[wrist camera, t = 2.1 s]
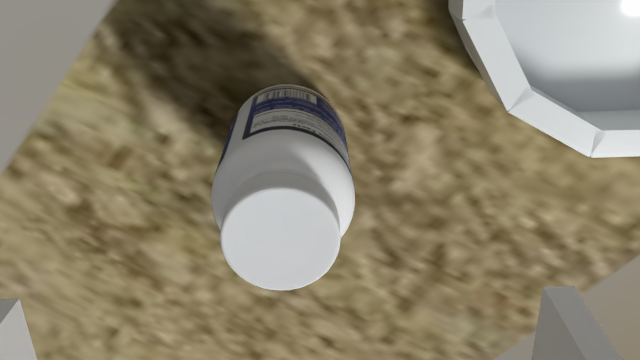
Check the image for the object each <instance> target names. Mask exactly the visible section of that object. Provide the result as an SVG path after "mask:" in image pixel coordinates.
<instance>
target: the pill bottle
mask: <svg viewBox="0 0 640 360" xmlns="http://www.w3.org/2000/svg"><path fill="white" fill-rule="evenodd" d="M211 203H212V210H213V214H214V218H215V220H216V223H217V225H218V227H219V229H220V243H221V248H222V251H223V254H224V257H225V259H226V261H227V262H228V264H229V265H230V267H231V268H232V269H233V270H234V271H235V272H236V273H237V274H238V275H239V276H240V277H241V278H243V279H244V280H246V281H248V282H249V283H251V284H253V285H256V286H259V287H261V288H265V289H270V290H291V289H297V288H301V287H304V286H306V285H308V284H311V283H312V282H314V281H316V280H317V279H319V278H320V277H321V276H323V275H324V274H325V273H326V272H327V271H328V270H329V268H330V267H331V266H332V264H333V263H334V261H335V259H336V257H337V254H338V251H339V247H340V239H341V237H342V236H343V234H344V233H345V231H346V230H347V228H348V226H349V224H350V222H351V219H352V216H353V212H354V206H355V191H354V184H353V177H352V172H351V166H350V161H349V155H348V149H347V143H346V138H345V132H344V128H343V124H342V121H341V119H340V117H339V115H338V113H337V111H336V110H335V108H334V107H333V106H332V105H331V103H330V102H329V101H328V100H327V99H326V98H324V97H323V96H322V95H320V94H319V93H317V92H315V91H314V90H311V89H309V88H306V87H303V86H299V85H292V84H282V85H275V86H271V87H268V88H265V89H263V90H261V91H259V92H257V93H256V94H254V95H253V96H251V97H250V98H249V99H248V100H247V101H246V102H245V103H244V104H243V105H242V107H241V108H240V110H239V111H238V113H237V115H236V117H235V118H234V120H233V123H232V126H231V129H230V131H229V134H228V138H227V141H226V144H225V147H224V150H223V153H222V156H221V159H220V162H219V165H218V167H217V170H216V173H215V177H214V181H213V185H212V192H211Z"/></svg>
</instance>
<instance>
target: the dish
mask: <svg viewBox="0 0 640 360" xmlns="http://www.w3.org/2000/svg"><path fill="white" fill-rule="evenodd" d="M448 9H449V13H450V15H451V17H452V19H453V20H454V22H455V26H456V29H457V31H458V34H459V36H460V39H461V41H462V43H463V46H464V48H465V50H466V51H467V53H468V55H469V56H470V58H471V60H472V61H473V63H474V65H475V66H476V68H477V69H478V70H479V72H480V74H481V76H482V78H483V80H484V82H485V84H486V86H487V88H488V90H489V92H490V94H491V95H492V96H493V97H494V98H495V99H496V100H497V101H498V102H499V103H500V104H501V105H502V106H503V107H504V108H505V109H506V110H507V111H508V112H509V113H511V114H512V115H514V116H516V117H518V118H520V119H521V120H523V121H525V122H527V123H529V124H530V125H532V126H534V127H536V128H537V129H539V130H541V131H543V132H545V133H546V134H548V135H550V136H552V137H554V138H555V139H557V140H559V141H561V142H563V143H564V144H566V145H568V146H570V147H571V148H573V149H575V150H577V151H579V152H580V153H582V154H584V155H586V156H588V157H591V158H594V157H629V156H640V0H449V5H448Z"/></svg>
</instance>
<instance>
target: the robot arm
mask: <svg viewBox="0 0 640 360" xmlns="http://www.w3.org/2000/svg"><path fill="white" fill-rule="evenodd" d="M0 360H37V358H36V355H35V351H34V348H33V344H32V341H31V338H30V334H29V331H28V327H27V324H26V320H25V317H24V313H23V310H22V307H21V303H20V300H19V299H0ZM532 360H623V359H622V357H621V356H620V354H619V353H618V351H617V350H616V348H615V347H614V345H613V344H612V342H611V341H610V339H609V338H608V336H607V335H606V333H605V332H604V330H603V329H602V327H601V326H600V324H599V323H598V321H597V320H596V318H595V317H594V316H593V314H592V312H591V311H590V309H589V308H588V306H587V305H586V303H585V302H584V300H583V299H582V297H581V296H580V294H579V293H578V291H577V290H576V288H575V287H574V286H564V287H543V292H542V298H541V304H540V311H539V317H538V323H537V329H536V335H535V341H534V348H533V354H532Z"/></svg>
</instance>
